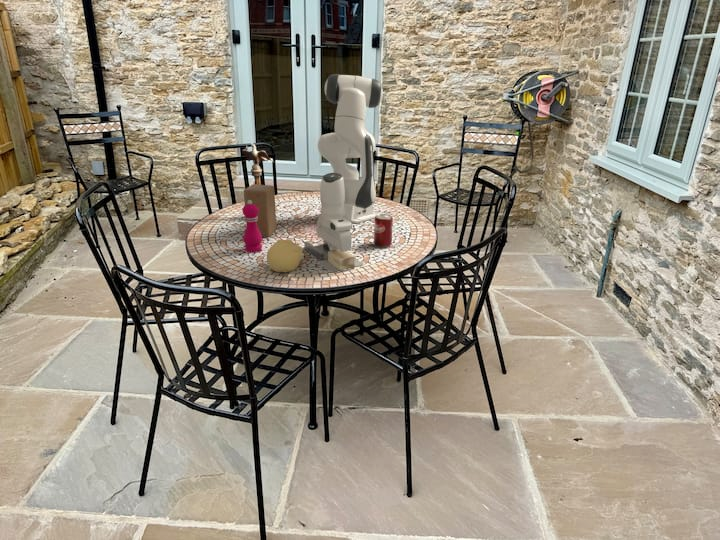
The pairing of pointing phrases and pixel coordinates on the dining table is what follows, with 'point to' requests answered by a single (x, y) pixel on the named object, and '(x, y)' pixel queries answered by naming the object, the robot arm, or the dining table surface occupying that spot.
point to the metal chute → (318, 250)
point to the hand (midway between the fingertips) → (333, 254)
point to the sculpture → (284, 256)
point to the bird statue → (256, 161)
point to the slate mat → (331, 267)
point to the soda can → (383, 230)
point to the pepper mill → (251, 228)
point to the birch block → (341, 259)
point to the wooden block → (263, 207)
